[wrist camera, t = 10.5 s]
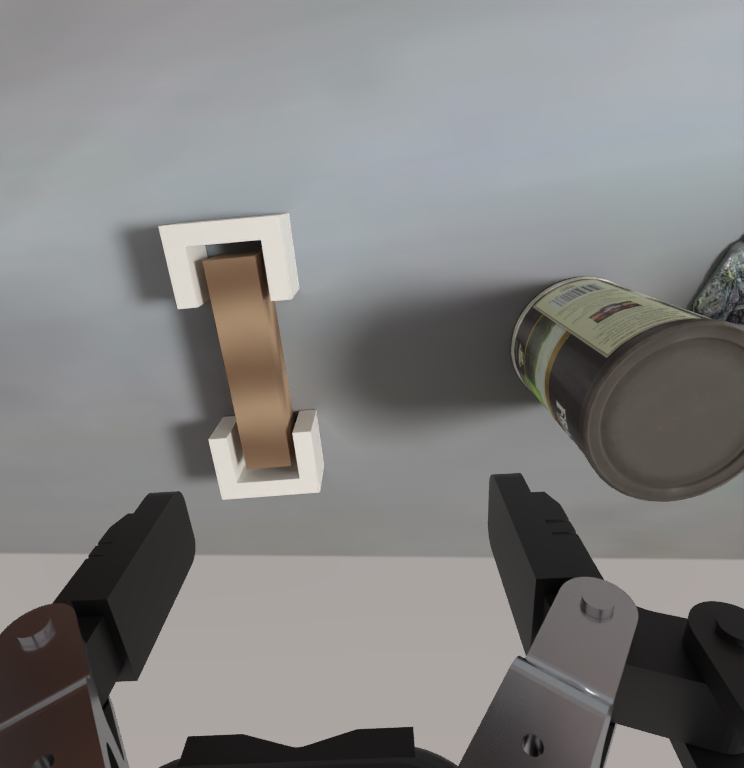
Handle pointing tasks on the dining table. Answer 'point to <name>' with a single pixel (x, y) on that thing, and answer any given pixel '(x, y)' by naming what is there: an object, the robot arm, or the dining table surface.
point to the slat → (252, 357)
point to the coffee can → (637, 386)
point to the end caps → (279, 257)
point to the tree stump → (724, 289)
